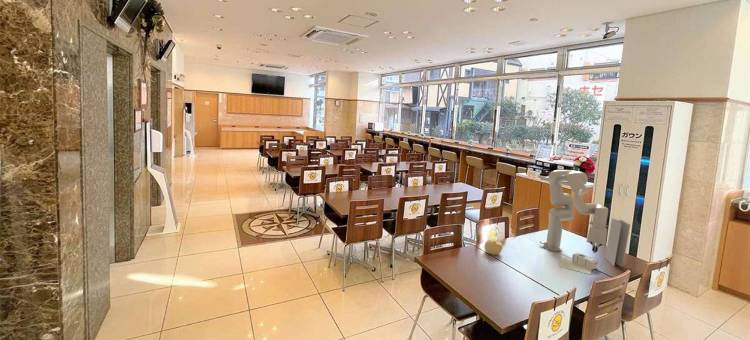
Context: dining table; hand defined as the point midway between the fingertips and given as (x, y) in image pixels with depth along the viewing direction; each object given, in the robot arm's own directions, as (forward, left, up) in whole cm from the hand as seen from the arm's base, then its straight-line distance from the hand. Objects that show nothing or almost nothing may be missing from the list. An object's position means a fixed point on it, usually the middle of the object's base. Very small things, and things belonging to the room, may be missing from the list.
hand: (594, 252), depth 234 cm
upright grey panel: (+12, +25, -12) cm, 30 cm away
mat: (-9, 0, -12) cm, 15 cm away
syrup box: (+2, +1, -9) cm, 9 cm away
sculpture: (-60, -17, -12) cm, 64 cm away
